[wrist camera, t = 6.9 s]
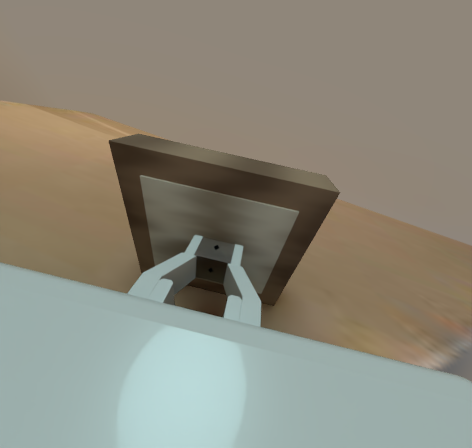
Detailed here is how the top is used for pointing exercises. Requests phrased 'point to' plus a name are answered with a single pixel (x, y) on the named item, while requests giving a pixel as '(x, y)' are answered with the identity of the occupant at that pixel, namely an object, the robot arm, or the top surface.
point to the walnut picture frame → (219, 207)
